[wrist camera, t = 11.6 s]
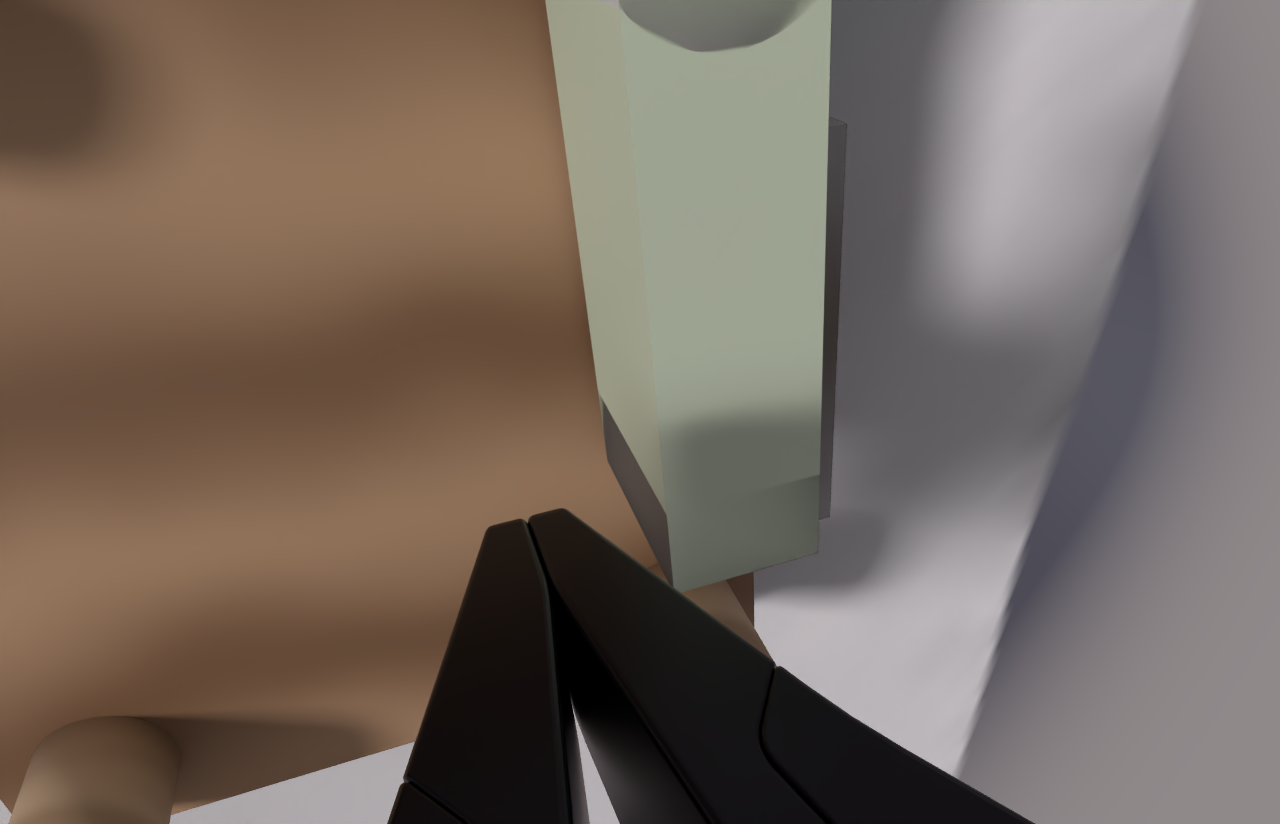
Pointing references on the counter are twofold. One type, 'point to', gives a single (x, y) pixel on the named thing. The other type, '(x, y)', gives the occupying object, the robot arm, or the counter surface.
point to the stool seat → (280, 379)
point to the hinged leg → (703, 264)
